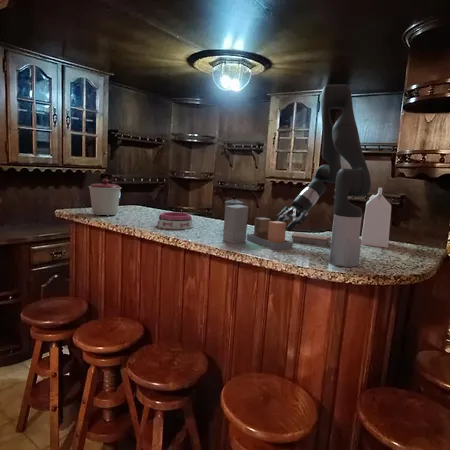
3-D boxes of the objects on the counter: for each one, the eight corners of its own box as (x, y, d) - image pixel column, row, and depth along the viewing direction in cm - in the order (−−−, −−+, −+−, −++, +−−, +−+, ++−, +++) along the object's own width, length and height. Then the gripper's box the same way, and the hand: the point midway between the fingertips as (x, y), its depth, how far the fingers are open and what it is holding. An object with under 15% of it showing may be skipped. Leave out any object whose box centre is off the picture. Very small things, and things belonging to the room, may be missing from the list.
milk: (388, 247, 167) (395, 189, 163) (360, 244, 171) (367, 187, 167) (386, 242, 178) (393, 188, 174) (361, 240, 182) (367, 186, 178)
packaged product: (333, 235, 164) (328, 239, 155) (331, 246, 165) (327, 250, 156) (293, 230, 172) (286, 233, 163) (292, 240, 172) (285, 244, 164)
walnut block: (269, 242, 161) (271, 219, 160) (259, 242, 159) (261, 219, 157) (262, 239, 166) (264, 217, 164) (253, 240, 163) (255, 217, 162)
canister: (102, 218, 204) (102, 179, 201) (81, 214, 214) (81, 177, 210) (127, 215, 219) (128, 179, 216) (107, 212, 229) (107, 177, 225)
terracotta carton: (284, 247, 152) (286, 223, 151) (274, 247, 150) (276, 223, 148) (277, 244, 157) (278, 221, 155) (267, 245, 154) (269, 221, 153)
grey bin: (292, 249, 151) (292, 242, 151) (273, 250, 147) (274, 243, 146) (264, 239, 169) (264, 233, 168) (246, 240, 164) (247, 234, 164)
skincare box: (235, 239, 165) (237, 204, 162) (247, 242, 160) (249, 206, 157) (221, 241, 159) (223, 204, 156) (233, 244, 154) (235, 206, 151)
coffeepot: (241, 235, 177) (244, 197, 174) (221, 234, 177) (223, 196, 174) (242, 230, 192) (244, 195, 189) (224, 228, 192) (226, 194, 190)
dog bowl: (195, 230, 184) (196, 216, 183) (157, 230, 179) (158, 216, 178) (190, 224, 202) (190, 211, 201) (155, 223, 197) (155, 211, 196)
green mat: (267, 249, 148) (267, 248, 148) (250, 251, 144) (250, 249, 144) (254, 244, 156) (254, 243, 156) (237, 245, 153) (237, 244, 153)
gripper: (290, 192, 161) (266, 219, 158) (312, 195, 149) (287, 224, 145) (299, 204, 165) (275, 231, 161) (321, 208, 152) (297, 237, 149)
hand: (281, 228), depth 153 cm, fingers open, 8 cm apart
